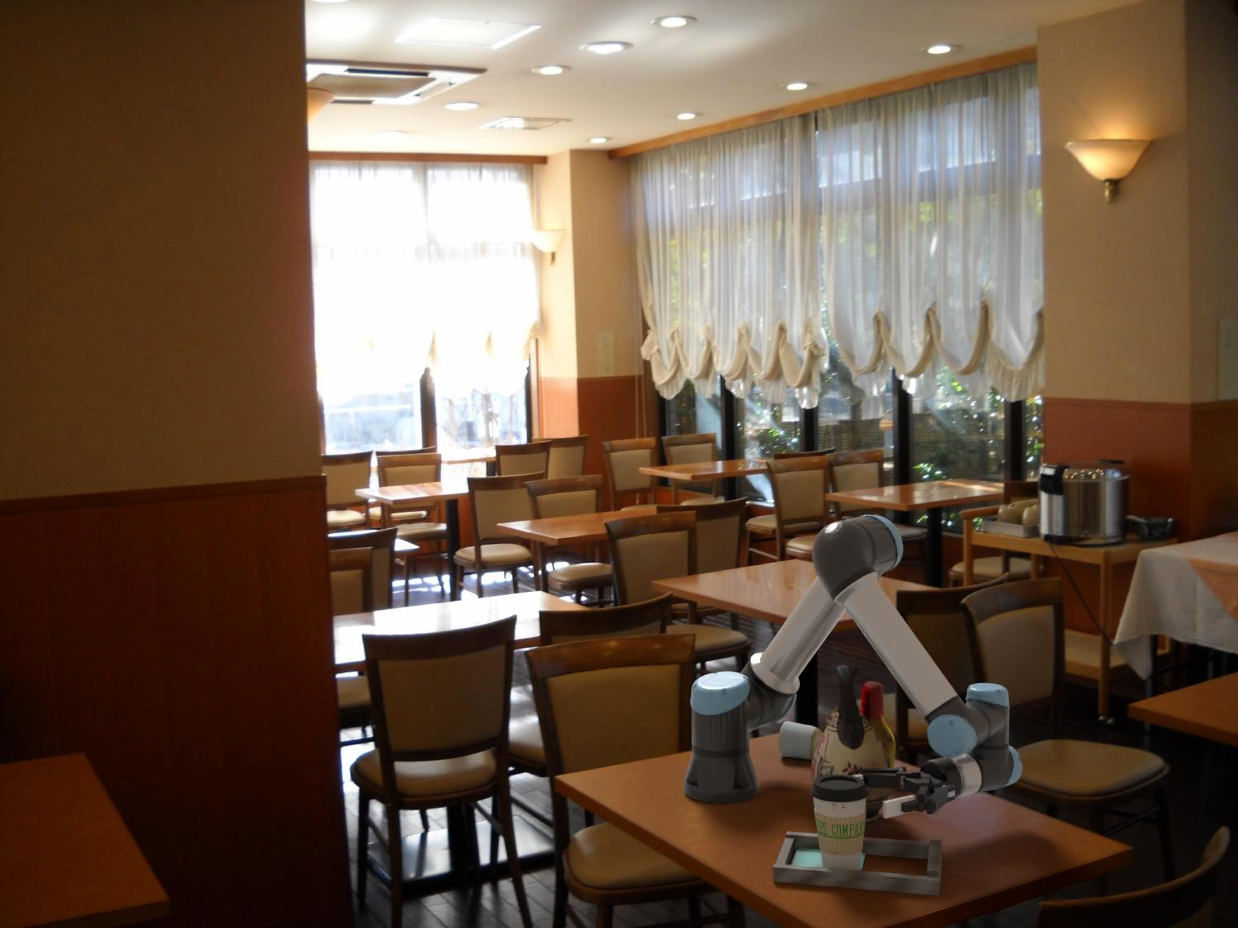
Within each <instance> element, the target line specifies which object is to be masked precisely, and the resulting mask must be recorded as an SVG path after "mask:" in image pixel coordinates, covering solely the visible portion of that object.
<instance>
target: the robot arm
mask: <svg viewBox="0 0 1238 928" xmlns="http://www.w3.org/2000/svg"><path fill="white" fill-rule="evenodd" d="M811 549H812V551H811V557H812V563H813V568H814V570H815V573H816V574H817V576H816V577H815V578H814V580H813V581H812V583H811V584H810V586H809V587H808V589H807V590H806V592H805V593H804V594H803V596H802V598H801V599H800V600H799V601H798V603H797V605H796V606H795V607H794V609H793V610H792V611H791V613H790V614H789V616H788V617H787V618H786V620H785V621H784V623H783V625H782V626H781V627H780V629H779V630H778V631H777V633H776V634H775V636H774V637H773V639H772V640H771V642H770V643H769V644H768V646H767V648H766V649H765V650H764V652H756V653H754V654H753V655H752V656H751V657H750V659H749V660H748V662H747V663H746V664H745V666H744V667H743V669H742V670H741V671H740V672H737V671H717V672H711V673H707V674H704V675H702V676H700V677H698V678H697V679H696V680H695V681H694V682H693V683H692V686H691V695H690V699H689V700H690V701H689V702H690V703H689V704H690V707H691V708H690V709H691V710H690V711H691V716H690V717H691V718H690V719H691V756H690V759H689V763H688V766H687V768H686V769H687V770H686V774H685V776H684V780H683V792H684V794H685V795H686V796H687V797H689V798H691V799H693V800H695V801H696V800H697V801H700V802H705V803H713V804H731V803H740V802H744V801H748V800H751V799H754V798H755V797H756V796H757V795H758V794H759V791H760V790H759V787H760V786H759V779H758V776H757V773H756V772H757V771H756V769H755V767H754V763H753V761H752V758H751V757H752V756H751V753H750V733H751V732H753V731H755V730H758V729H760V728H762V727H765V726H767V725H770V724H774V723H777V722H779V721H780V720H782V719H783V718H785V716H787V715H788V714H789V713H790V712H791V711H792V709H793V708H794V705H795V703H796V700H797V692H798V690H799V689H800V679H799V676H800V675H801V674H802V672H803V671H804V669H805V668H806V667H807V665H808V664H809V662H810V661H811V660H812V658H813V657H814V655H815V654H816V652H817V651H818V650H819V648H820V647H821V646H822V644H823V643H824V642H825V640H826V639H827V637H828V636H829V634H831V632H832V631H833V629H834V628H835V627H836V625H837V624H838V622H839V621H840V619H842V617H843V615H844V614H845V613H846V612H848V614H849V616H850V617H851V619H852V620H853V621H854V623H855V624H856V625H857V627H858V628H859V629H860V631H861V633H862V634H863V635H864V637H865V638H866V640H867V641H868V642H869V644H870V645H871V646H872V648H873V649H874V651H875V653H877V655H878V657H879V658H880V659H881V660H882V662H883V663H884V664H885V666H886V668H888V670H889V672H890V673H891V674H892V676H893V677H894V679H895V680H896V681H897V683H898V685H900V687H901V688H902V690H903V692H904V693H905V694H906V695H907V697H908V699H909V700H910V701H911V702H912V704H913V705H914V707H915V708H916V710H917V711H918V712H919V714H920V715H921V716H922V718H923V720H924V721H925V723H926V725H928V727H927V731H926V732H927V733H926V735H927V740H928V744H929V746H930V747H931V749H932V750H933V751H934V753H936V754H938V755H939V756H941V757H939V758H933V759H930V760H927V761H925V762H924V763H923V765H922V766H921V768H919V770H917V769H916V770H911V771H907V767H906V766H905V765H904V766H903V765H902V766H898V767H894V768H876V769H855V770H854V776H855V777H859V778H861V779H862V780H864V782H865V786H866V787H867V788H888V789H891V790H892V789H894V790H896V791H897V792H900V793H901V792H902V793H911V794H910V795H906V796H901V797H897V798H892V799H887V801H883V806H882V818H884V819H889V818H894V817H898V816H902V815H905V814H910V813H914V812H916V811H917V812H919V813H924V811H926V813H927V814H928V815H934V814H935V813H937V811H940V810H941V808H943V807H944V806H945V805H947V803H950V802H952V801H955V800H956V799H957V798H958V799H964V797H966V796H970V795H975V794H978V793H984V792H987V791H992V790H1000V789H1003V788H1005V787H1007V786H1011V785H1012V784H1014V783H1016V782H1017V781H1018V780H1019V779H1020V778H1021V776H1022V772H1023V762H1022V761H1021V759H1020V754H1019V752H1018V751H1017V749H1016V748H1014V747H1013V746H1011V745H1010V744H1009V743H1010V741H1009V737H1010V736H1009V735H1010V732H1009V731H1010V709H1011V708H1010V707H1011V706H1010V700H1009V691H1008V689H1007V688H1006V687H1005V686H1003V685H1001V684H997V683H990V682H989V683H988V682H983V683H982V682H979V683H973V684H971V685H969V686H968V687H967V689H966V697H965V700H966V702H964V701H963V699H962V698H961V697H960V696H959V694H958V693H957V692H956V691H955V689H954V687H953V686H952V685H951V684H950V681H949V680H948V679H947V678H946V676H945V675H944V674H943V673H942V671H941V669H940V668H939V666H937V664H936V663H935V661H934V660H933V658H932V657H931V655H930V654H929V653H928V651H927V650H926V649H925V648H924V646H923V644H922V643H921V642H920V641H919V639H918V637H917V636H916V635H915V633H914V632H913V630H912V629H911V628H910V626H909V625H908V624H907V622H906V621H905V619H904V618H903V616H901V613H899V611H898V610H897V608H896V607H895V606H894V604H893V603H892V601H891V600H890V599H889V597H888V595H886V593H885V592H884V590H883V589H882V588H881V586H880V585H879V583H878V580H879V579H880V577H882V575H883V574H885V573H888V572H890V571H892V570H893V569H894V568H895V567H897V565H898V564H899V563H900V561H901V559H902V557H903V554H904V553H903V552H904V544H903V539H902V534H901V533H900V531H899V529H898V528H897V527H896V525H895V524H894V523H893V522H892V521H891V520H889V519H888V518H886V517H884V516H880V515H877V514H876V515H875V514H872V515H871V514H864V515H863V514H862V515H860V516H857V517H853V518H848V519H845V520H838V521H837V520H836V521H834V522H832V523H829V524H828V525H826V526H824V527H823V528H822V529H820V531H819V532H818V533H817V535H816V537H815V539H814V541H813V545H812V548H811ZM902 783H903V784H902ZM901 784H902V785H903V786H901ZM913 794H914V795H913Z"/></svg>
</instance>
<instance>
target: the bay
mask: <svg viewBox="0 0 1238 928" xmlns="http://www.w3.org/2000/svg"><path fill="white" fill-rule="evenodd" d="M942 847H943V843H942V840H940V839H939V840H937V839H929V841H918V840H905V839H895V838H894V839H892V838H880V837H865V836H864V839H863V849H862V851H861V862H860V870H859V871H858V870H846V869H834V868H823V864H822V857H821V849H820V847H819V841H818V834H817V833H811V832H798V831H786V833H785V839H784V841H783V844H782V846H781V849H780V851H779V854H778V857H777V859H776V862H775V863H774V865H773V867H772V872H773V875H772V876H773V879H772V880H773V881H775V882H776V883H783V884H784V883H787V884H800V885H808V886H809V885H810V886H821V887H822V886H823V887H831V888H842V889H843V888H845V889H856V890H857V889H858V890H867V891H869V890H870V891H877V892H879V891H880V892H890V893H891V892H892V893H900V894H901V893H903V894H912V895H913V894H914V895H915V894H916V895H925V896H926V895H927V896H928V895H929V896H938V897H939V896H940V895H941V880H942V879H941V877H942V875H941V874H942V862H943V861H942V859H943V858H942V857H943V856H942V855H943V848H942ZM794 851H795V853H794ZM793 854H794V855H793ZM866 855H871V856H883V857H893V858H894V857H895V858H897V857H898V858H907V859H908V858H909V859H910V858H911V859H919V860H920V859H923V860H927V867H926V868H927V870H926V875H917V874H906V873H905V874H904V873H896V872H895V873H893V872H880V871H868V870H863V867H864V863H865V859H866ZM790 862H791V863H790ZM775 882H774V883H775Z"/></svg>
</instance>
